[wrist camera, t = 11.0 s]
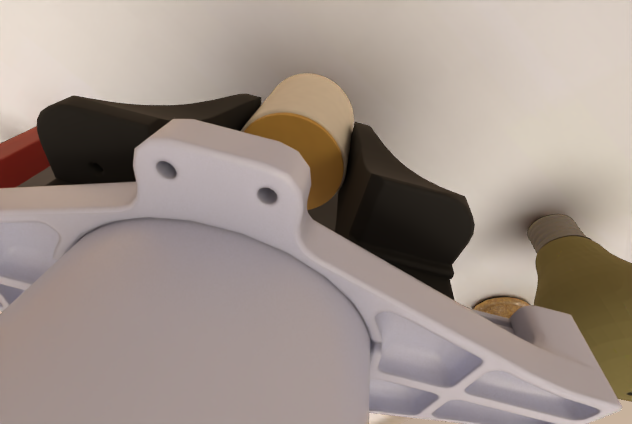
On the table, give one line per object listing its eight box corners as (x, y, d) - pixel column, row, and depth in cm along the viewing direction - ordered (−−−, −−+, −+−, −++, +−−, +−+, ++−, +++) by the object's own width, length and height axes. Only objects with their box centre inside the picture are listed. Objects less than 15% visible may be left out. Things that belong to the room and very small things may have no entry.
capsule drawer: (38, 222, 25) (-34, 277, 21) (-28, 100, 19) (-153, 143, 14) (227, 271, 26) (195, 335, 21) (229, 167, 19) (184, 229, 14)
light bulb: (490, 255, 21) (553, 419, 14) (498, 190, 18) (588, 357, 10) (585, 251, 20) (716, 432, 12) (614, 179, 17) (817, 364, 9)
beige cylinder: (290, 167, 16) (267, 222, 12) (251, 93, 14) (210, 135, 10) (365, 143, 14) (362, 199, 11) (334, 56, 12) (318, 92, 9)
